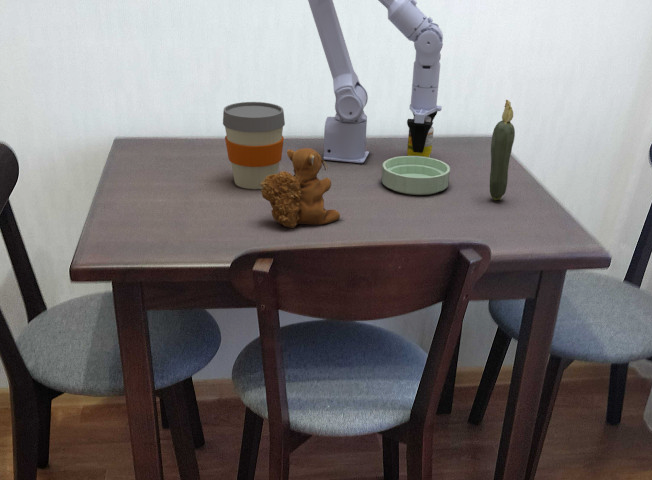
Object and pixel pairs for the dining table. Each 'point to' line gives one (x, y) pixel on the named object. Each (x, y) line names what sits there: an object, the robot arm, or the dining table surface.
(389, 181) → the bowl
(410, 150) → the supplement bottle
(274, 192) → the stuffed squirrel
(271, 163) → the reusable coffee cup
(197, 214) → the dining table surface
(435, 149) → the dining table surface
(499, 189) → the vegetable
